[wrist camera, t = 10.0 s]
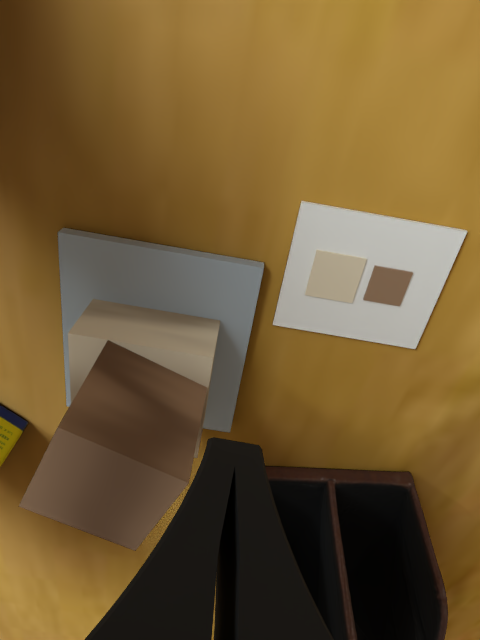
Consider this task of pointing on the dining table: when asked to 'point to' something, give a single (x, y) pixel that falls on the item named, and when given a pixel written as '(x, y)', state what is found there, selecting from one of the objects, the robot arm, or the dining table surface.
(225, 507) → the robot arm
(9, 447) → the supplement box
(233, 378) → the board
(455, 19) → the dining table surface
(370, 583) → the letter holder
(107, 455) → the walnut brick
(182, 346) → the beech brick
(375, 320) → the page
